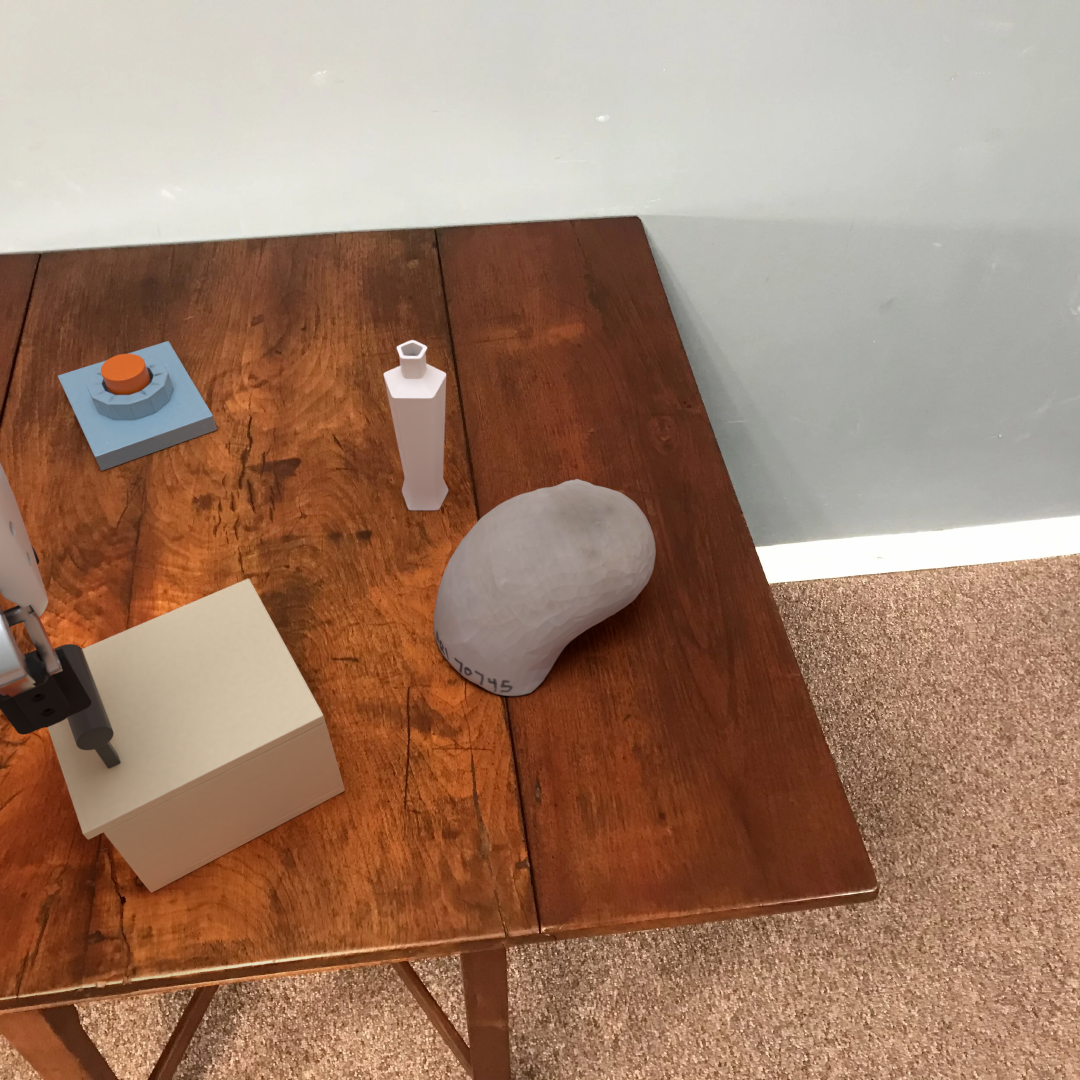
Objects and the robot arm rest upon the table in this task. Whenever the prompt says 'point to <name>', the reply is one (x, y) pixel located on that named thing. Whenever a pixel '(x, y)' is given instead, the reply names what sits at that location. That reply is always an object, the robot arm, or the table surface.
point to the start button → (125, 374)
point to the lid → (178, 705)
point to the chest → (229, 809)
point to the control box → (138, 409)
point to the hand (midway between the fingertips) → (30, 640)
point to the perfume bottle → (419, 425)
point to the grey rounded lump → (539, 581)
